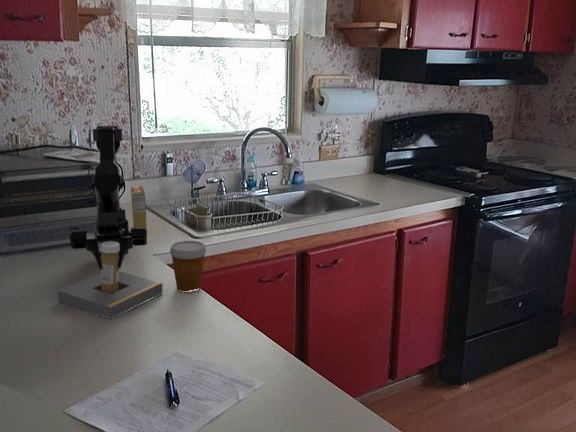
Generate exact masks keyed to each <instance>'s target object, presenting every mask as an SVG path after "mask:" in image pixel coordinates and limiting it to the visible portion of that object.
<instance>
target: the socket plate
mask: <svg viewBox="0 0 576 432" xmlns="http://www.w3.org/2000/svg"><path fill="white" fill-rule="evenodd" d="M57 292H58V293H57V294H58V302H59V303H61V304H65V305H67V306H70V307H73V306H74V308H76V307H77V308H76V309H79V308H80V310H82V309H84V310H83V311H85V310H87V311H86V312H88V311H91V312H94V313H97V314H100V315H104V316H107V317H110V318H112V317H114V316H116V315H118V314H120V313H122V312H124V311H126V310H128V309H130V308H131V307H134V306H135V305H138V304H140V303H142V302H144V301H146V300H148V299H150V298H152V297H155V296H157V295H159V294H161V293H163V292H164V291H163V282H161V281H155V280H151V279H147V278H144V277H140V276H137V275H134V274H130V273H127V272H123V271H120V270H119V291H117V292H115V293H112V294H109V293H106V292H102V291H101V273H99V274H97V275H94V276H92V277H89V278H85V279H84V280H81V281H79V282H76V283H74V284H71V285H69V286H66V287H63V288H62V289H58V291H57ZM91 312H90V313H91ZM94 313H93V314H94ZM97 314H96V315H97ZM100 315H99V316H100Z"/></svg>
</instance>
